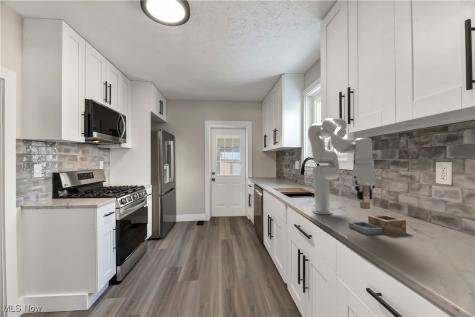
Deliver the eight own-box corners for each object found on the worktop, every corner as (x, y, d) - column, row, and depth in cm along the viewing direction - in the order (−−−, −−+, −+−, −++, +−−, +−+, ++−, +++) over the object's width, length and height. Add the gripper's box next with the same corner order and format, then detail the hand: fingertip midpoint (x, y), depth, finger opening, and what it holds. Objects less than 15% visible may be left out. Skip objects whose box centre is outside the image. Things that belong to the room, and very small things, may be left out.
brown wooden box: (368, 227, 114) (368, 215, 114) (386, 226, 116) (386, 214, 116) (386, 234, 103) (386, 221, 104) (406, 232, 105) (405, 220, 106)
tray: (349, 227, 115) (348, 222, 115) (364, 226, 117) (364, 221, 117) (366, 234, 103) (366, 229, 103) (382, 233, 105) (382, 228, 105)
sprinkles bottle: (369, 209, 107) (368, 182, 107) (358, 208, 110) (358, 181, 110) (371, 208, 110) (370, 181, 110) (361, 207, 113) (360, 180, 113)
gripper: (372, 162, 115) (373, 197, 115) (343, 162, 112) (344, 198, 112) (384, 162, 108) (385, 199, 108) (354, 162, 105) (354, 201, 105)
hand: (364, 198), depth 110 cm, fingers closed on sprinkles bottle, 4 cm apart
